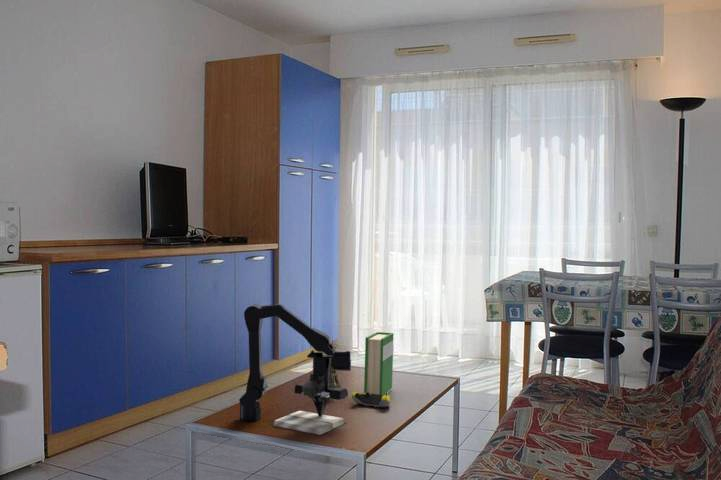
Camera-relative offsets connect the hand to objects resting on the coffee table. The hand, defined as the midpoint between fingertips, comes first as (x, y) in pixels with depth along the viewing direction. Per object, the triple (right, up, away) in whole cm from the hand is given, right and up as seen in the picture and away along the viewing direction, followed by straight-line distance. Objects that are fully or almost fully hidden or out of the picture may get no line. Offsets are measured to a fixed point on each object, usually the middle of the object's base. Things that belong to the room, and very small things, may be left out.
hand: (320, 415), depth 225 cm
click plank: (-1, -2, -1) cm, 2 cm away
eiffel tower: (+2, -3, +37) cm, 37 cm away
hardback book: (+21, -3, +47) cm, 51 cm away
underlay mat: (-3, -2, -4) cm, 6 cm away
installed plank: (-5, -2, -8) cm, 10 cm away
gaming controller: (+19, -3, +25) cm, 31 cm away
